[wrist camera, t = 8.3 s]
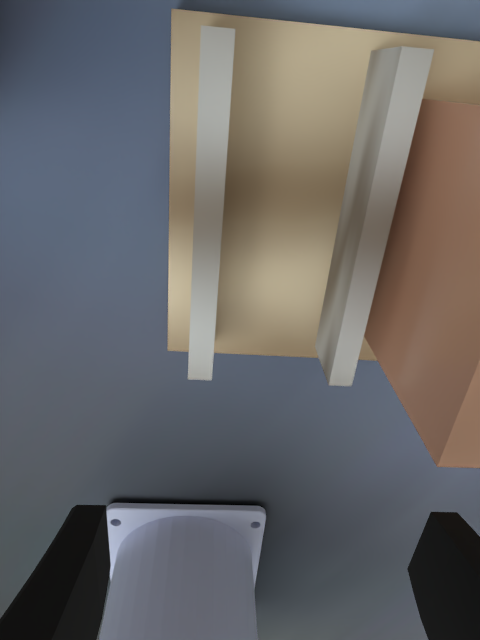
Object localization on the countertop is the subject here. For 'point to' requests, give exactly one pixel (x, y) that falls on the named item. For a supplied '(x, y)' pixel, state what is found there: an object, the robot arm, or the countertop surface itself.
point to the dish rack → (290, 179)
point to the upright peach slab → (435, 285)
